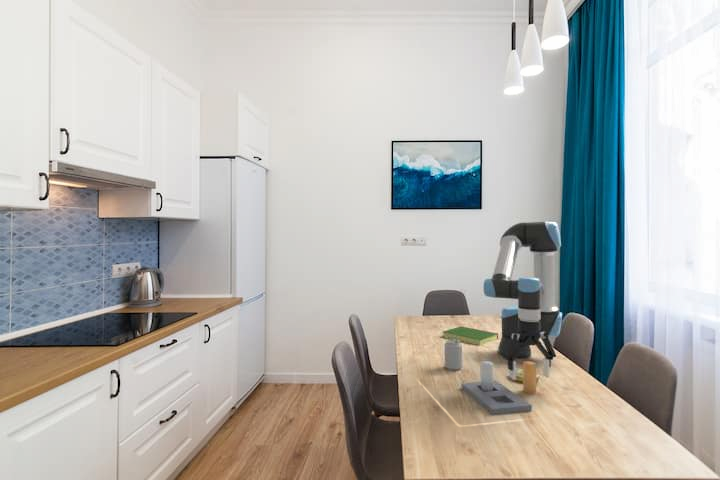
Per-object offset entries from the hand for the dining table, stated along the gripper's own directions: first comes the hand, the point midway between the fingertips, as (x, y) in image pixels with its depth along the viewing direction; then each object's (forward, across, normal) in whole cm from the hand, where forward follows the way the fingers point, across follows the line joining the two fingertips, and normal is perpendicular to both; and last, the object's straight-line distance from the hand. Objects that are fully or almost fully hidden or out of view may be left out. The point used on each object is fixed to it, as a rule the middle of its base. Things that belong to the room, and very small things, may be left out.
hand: (529, 377), depth 139 cm
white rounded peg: (+5, +16, -2) cm, 17 cm away
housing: (+6, +16, +3) cm, 17 cm away
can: (+6, +16, -31) cm, 36 cm away
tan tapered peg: (+6, 0, 0) cm, 6 cm away
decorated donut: (+6, -6, -12) cm, 15 cm away
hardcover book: (+6, -14, -76) cm, 78 cm away
